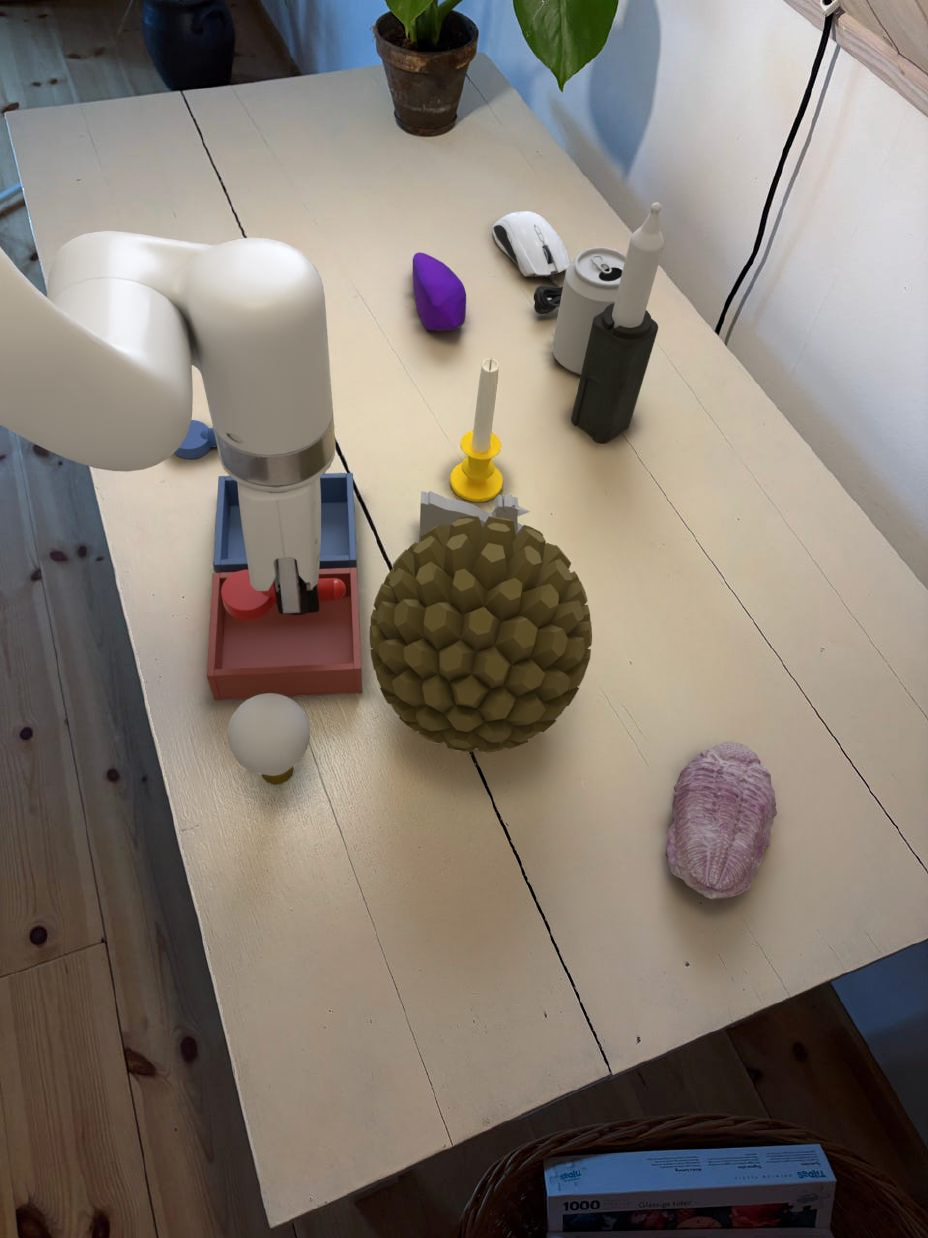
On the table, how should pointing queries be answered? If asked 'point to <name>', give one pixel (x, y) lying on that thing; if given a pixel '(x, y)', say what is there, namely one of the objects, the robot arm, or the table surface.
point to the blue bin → (334, 525)
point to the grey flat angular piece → (464, 511)
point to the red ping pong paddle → (266, 595)
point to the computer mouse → (534, 253)
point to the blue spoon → (197, 441)
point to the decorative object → (480, 635)
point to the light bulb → (269, 736)
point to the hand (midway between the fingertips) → (299, 596)
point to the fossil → (721, 820)
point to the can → (585, 301)
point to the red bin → (286, 647)
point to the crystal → (438, 294)
